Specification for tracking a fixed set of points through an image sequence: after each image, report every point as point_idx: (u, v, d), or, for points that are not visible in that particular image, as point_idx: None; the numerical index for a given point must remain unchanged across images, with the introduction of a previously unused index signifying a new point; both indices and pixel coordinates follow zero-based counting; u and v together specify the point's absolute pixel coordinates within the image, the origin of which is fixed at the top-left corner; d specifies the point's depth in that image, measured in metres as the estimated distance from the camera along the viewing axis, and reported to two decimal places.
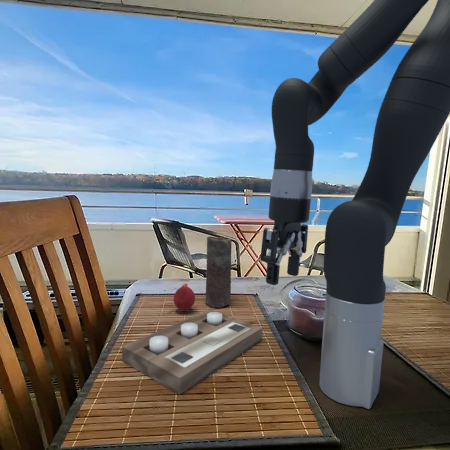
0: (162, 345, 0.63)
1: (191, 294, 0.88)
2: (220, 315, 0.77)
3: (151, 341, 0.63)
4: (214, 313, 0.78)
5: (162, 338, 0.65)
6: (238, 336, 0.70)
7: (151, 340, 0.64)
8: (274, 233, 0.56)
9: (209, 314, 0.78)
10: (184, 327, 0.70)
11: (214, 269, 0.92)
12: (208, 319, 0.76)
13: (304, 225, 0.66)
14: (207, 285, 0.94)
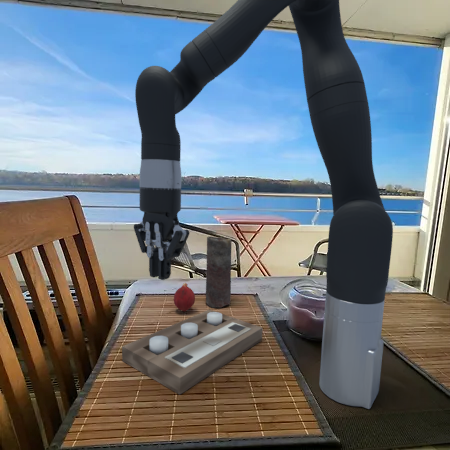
0: (162, 345, 0.63)
1: (191, 294, 0.88)
2: (220, 315, 0.77)
3: (151, 341, 0.63)
4: (214, 313, 0.78)
5: (162, 338, 0.65)
6: (238, 336, 0.70)
7: (151, 340, 0.64)
8: (188, 235, 0.58)
9: (209, 314, 0.78)
10: (184, 327, 0.70)
11: (214, 269, 0.92)
12: (208, 319, 0.76)
13: None
14: (207, 285, 0.94)
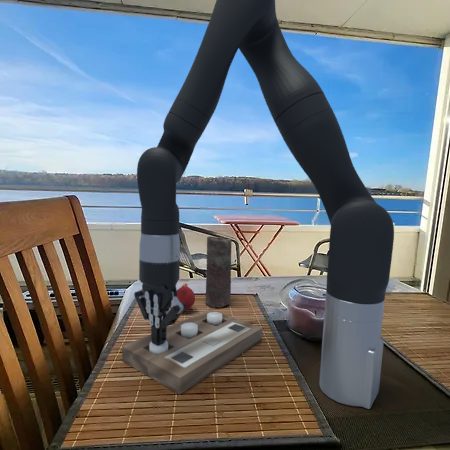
0: (162, 349, 0.63)
1: (191, 294, 0.88)
2: (220, 315, 0.77)
3: (151, 345, 0.63)
4: (214, 313, 0.78)
5: None
6: (238, 336, 0.70)
7: (151, 344, 0.64)
8: (185, 308, 0.60)
9: (209, 314, 0.78)
10: (184, 327, 0.70)
11: (214, 269, 0.92)
12: (208, 319, 0.76)
13: None
14: (207, 285, 0.94)
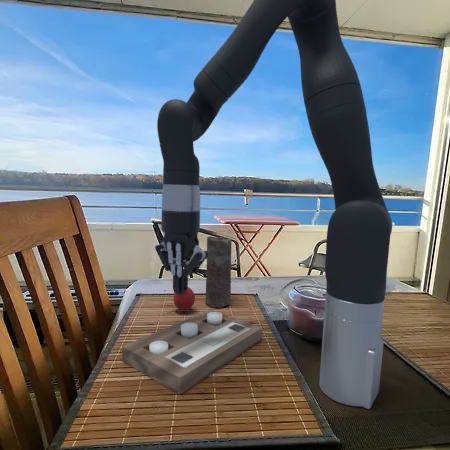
0: (162, 350, 0.63)
1: (191, 294, 0.88)
2: (220, 315, 0.77)
3: (151, 346, 0.63)
4: (214, 313, 0.78)
5: (162, 343, 0.65)
6: (238, 336, 0.70)
7: (151, 345, 0.64)
8: (206, 256, 0.63)
9: (209, 314, 0.78)
10: (184, 327, 0.70)
11: (214, 269, 0.92)
12: (208, 319, 0.76)
13: None
14: (207, 285, 0.94)
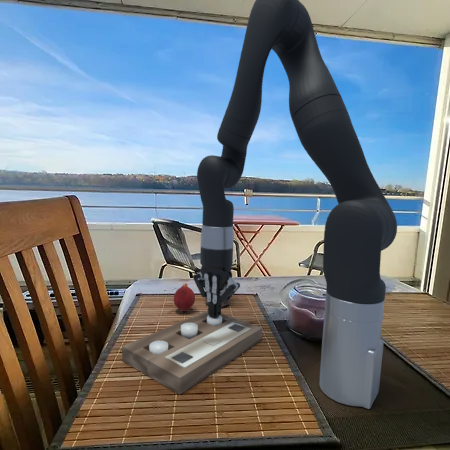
0: (162, 350, 0.63)
1: (191, 294, 0.88)
2: (220, 318, 0.77)
3: (151, 346, 0.63)
4: None
5: (162, 343, 0.65)
6: (238, 336, 0.70)
7: (151, 345, 0.64)
8: None
9: None
10: (184, 327, 0.70)
11: None
12: (208, 322, 0.76)
13: None
14: None
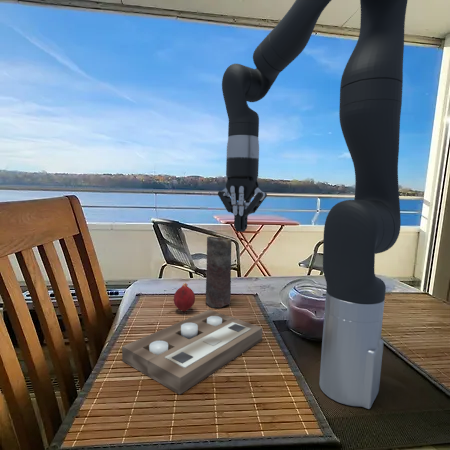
0: (162, 350, 0.63)
1: (191, 294, 0.88)
2: (220, 319, 0.77)
3: (151, 346, 0.63)
4: (214, 317, 0.78)
5: (162, 343, 0.65)
6: (238, 336, 0.70)
7: (151, 345, 0.64)
8: (265, 196, 0.74)
9: (209, 318, 0.78)
10: (184, 327, 0.70)
11: (214, 269, 0.92)
12: (208, 323, 0.76)
13: None
14: (207, 285, 0.94)
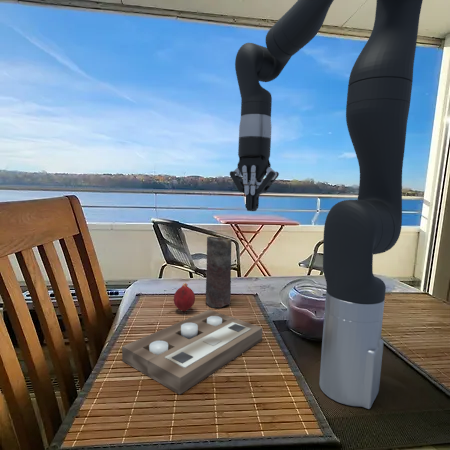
0: (162, 350, 0.63)
1: (191, 294, 0.88)
2: (220, 319, 0.77)
3: (151, 346, 0.63)
4: (214, 317, 0.78)
5: (162, 343, 0.65)
6: (238, 336, 0.70)
7: (151, 345, 0.64)
8: (277, 176, 0.75)
9: (209, 318, 0.78)
10: (184, 327, 0.70)
11: (214, 269, 0.92)
12: (208, 323, 0.76)
13: None
14: (207, 285, 0.94)
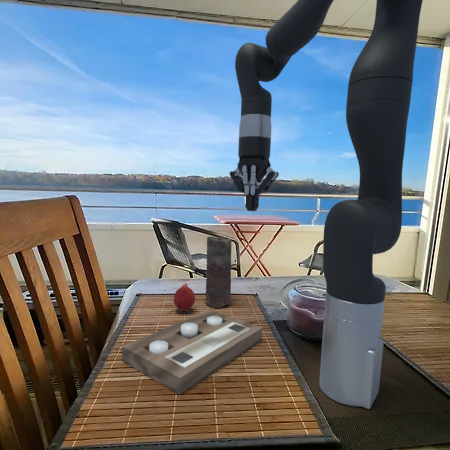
0: (162, 350, 0.63)
1: (191, 294, 0.88)
2: (220, 319, 0.77)
3: (151, 346, 0.63)
4: (214, 317, 0.78)
5: (162, 343, 0.65)
6: (238, 336, 0.70)
7: (151, 345, 0.64)
8: (277, 176, 0.75)
9: (209, 318, 0.78)
10: (184, 327, 0.70)
11: (214, 269, 0.92)
12: (208, 323, 0.76)
13: None
14: (207, 285, 0.94)
